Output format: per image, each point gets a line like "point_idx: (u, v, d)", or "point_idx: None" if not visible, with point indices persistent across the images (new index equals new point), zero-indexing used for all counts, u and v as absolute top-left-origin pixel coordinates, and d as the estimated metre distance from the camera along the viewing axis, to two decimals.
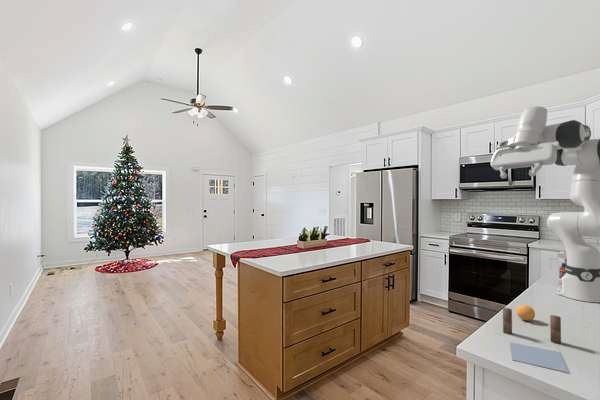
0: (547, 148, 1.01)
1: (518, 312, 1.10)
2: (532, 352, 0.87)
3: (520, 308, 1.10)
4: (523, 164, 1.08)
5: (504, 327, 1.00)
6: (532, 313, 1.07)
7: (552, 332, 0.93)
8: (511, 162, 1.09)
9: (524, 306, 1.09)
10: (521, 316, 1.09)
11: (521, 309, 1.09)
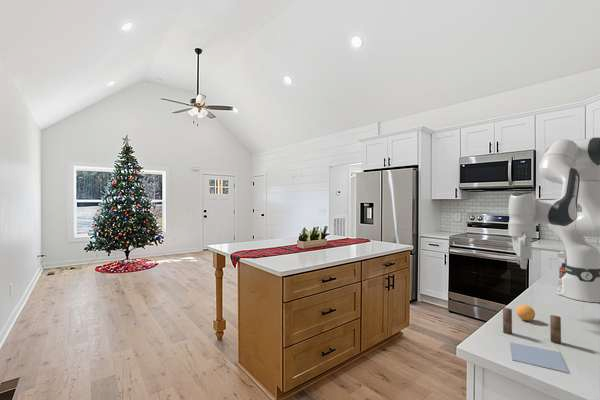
0: (518, 245, 1.11)
1: (518, 312, 1.10)
2: (532, 352, 0.87)
3: (520, 308, 1.10)
4: None
5: (504, 327, 1.00)
6: (532, 313, 1.07)
7: (552, 332, 0.93)
8: (515, 252, 1.20)
9: (524, 306, 1.09)
10: (521, 316, 1.09)
11: (521, 309, 1.09)
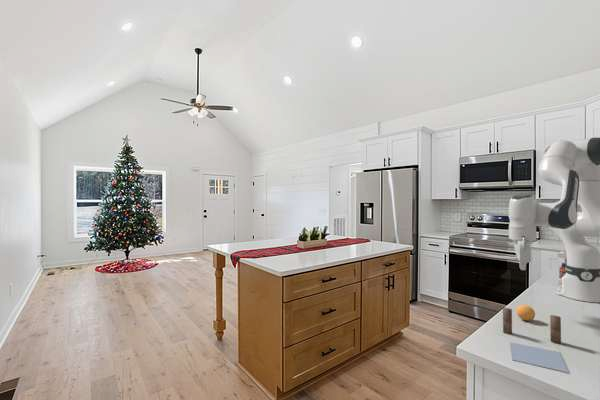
0: (518, 248, 1.12)
1: (518, 312, 1.10)
2: (532, 352, 0.87)
3: (520, 308, 1.10)
4: None
5: (504, 327, 1.00)
6: (532, 313, 1.07)
7: (552, 332, 0.93)
8: None
9: (524, 306, 1.09)
10: (521, 316, 1.09)
11: (521, 309, 1.09)
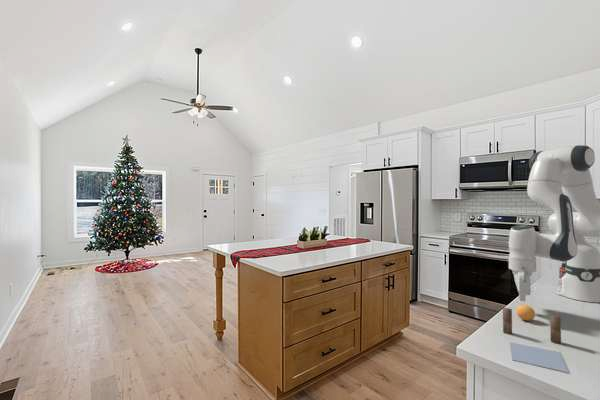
0: (518, 280, 1.12)
1: (518, 312, 1.10)
2: (532, 352, 0.87)
3: (520, 308, 1.10)
4: None
5: (504, 327, 1.00)
6: (532, 313, 1.07)
7: (552, 332, 0.93)
8: (516, 285, 1.20)
9: (524, 306, 1.09)
10: (521, 316, 1.09)
11: (521, 309, 1.09)
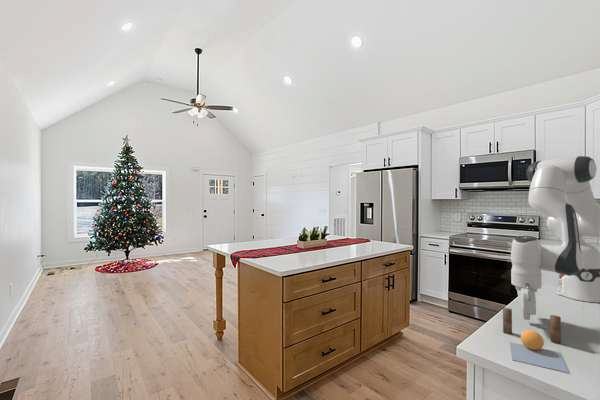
0: (522, 298, 1.02)
1: None
2: (532, 352, 0.87)
3: None
4: None
5: (504, 327, 1.00)
6: None
7: (552, 332, 0.93)
8: None
9: None
10: None
11: None
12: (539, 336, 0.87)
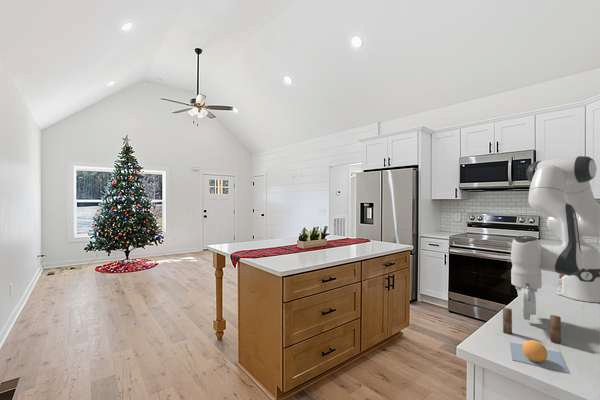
0: (522, 298, 1.02)
1: (524, 346, 0.83)
2: None
3: (527, 341, 0.84)
4: None
5: (504, 327, 1.00)
6: (543, 347, 0.81)
7: (552, 332, 0.93)
8: None
9: None
10: (529, 350, 0.81)
11: (528, 341, 0.83)
12: None
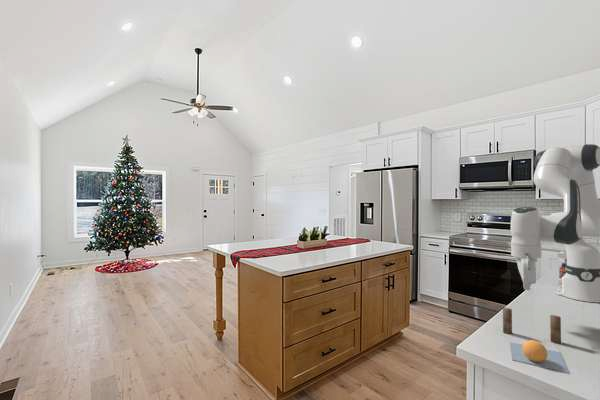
0: (522, 268, 1.02)
1: (524, 346, 0.83)
2: None
3: (527, 341, 0.84)
4: None
5: (504, 327, 1.00)
6: (543, 347, 0.81)
7: (552, 332, 0.93)
8: None
9: None
10: (529, 350, 0.81)
11: (528, 341, 0.83)
12: None
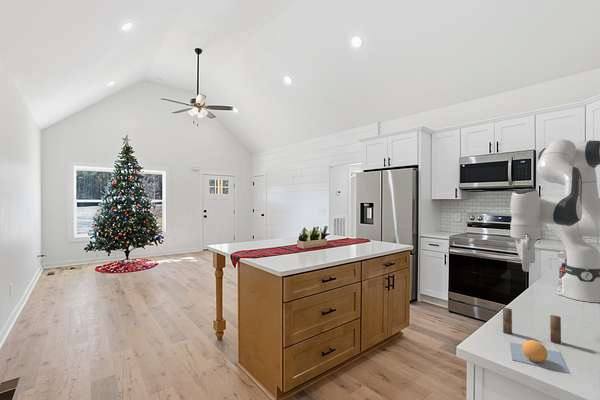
0: (521, 248, 1.02)
1: (524, 346, 0.83)
2: None
3: (527, 341, 0.84)
4: None
5: (504, 327, 1.00)
6: (543, 347, 0.81)
7: (552, 332, 0.93)
8: None
9: None
10: (529, 350, 0.81)
11: (528, 341, 0.83)
12: None
